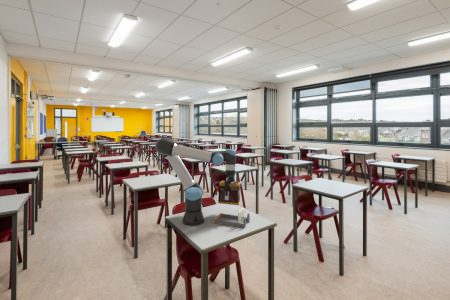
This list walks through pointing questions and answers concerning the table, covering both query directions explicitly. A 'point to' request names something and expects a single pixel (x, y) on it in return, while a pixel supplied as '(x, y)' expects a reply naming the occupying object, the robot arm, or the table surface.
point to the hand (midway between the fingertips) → (229, 197)
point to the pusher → (241, 216)
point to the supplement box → (233, 193)
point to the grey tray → (231, 220)
